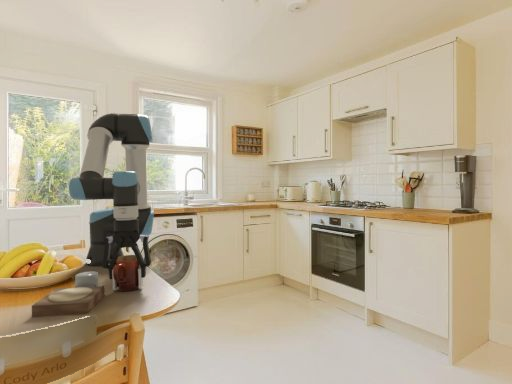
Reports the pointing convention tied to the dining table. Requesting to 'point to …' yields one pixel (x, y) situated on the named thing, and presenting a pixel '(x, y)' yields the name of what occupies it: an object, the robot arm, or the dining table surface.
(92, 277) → the grey rounded block
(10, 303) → the dining table surface
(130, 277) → the mug
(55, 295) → the base slab
